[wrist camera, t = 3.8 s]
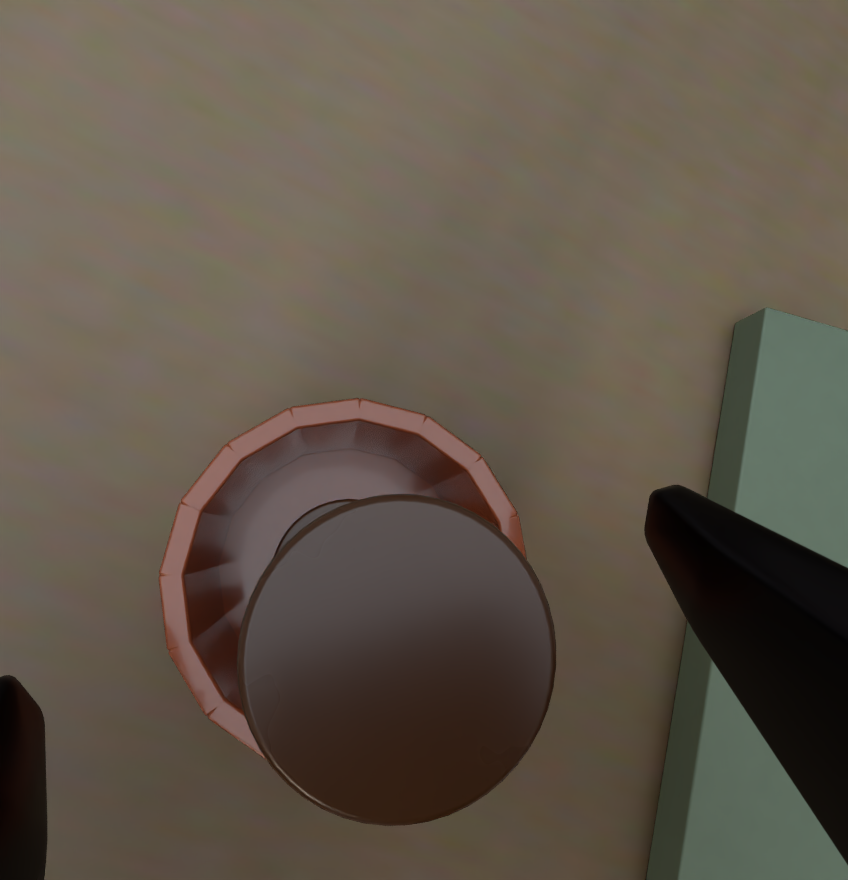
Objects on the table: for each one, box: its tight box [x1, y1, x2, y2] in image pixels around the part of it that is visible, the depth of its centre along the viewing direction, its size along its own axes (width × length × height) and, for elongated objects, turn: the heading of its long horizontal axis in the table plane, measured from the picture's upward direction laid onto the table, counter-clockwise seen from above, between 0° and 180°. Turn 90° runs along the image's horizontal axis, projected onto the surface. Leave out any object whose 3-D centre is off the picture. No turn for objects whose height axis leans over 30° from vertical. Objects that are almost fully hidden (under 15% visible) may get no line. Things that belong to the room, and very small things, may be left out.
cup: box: [159, 398, 527, 759], centre depth 16 cm, size 7×7×5 cm
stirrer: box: [237, 494, 556, 826], centre depth 11 cm, size 3×3×13 cm
